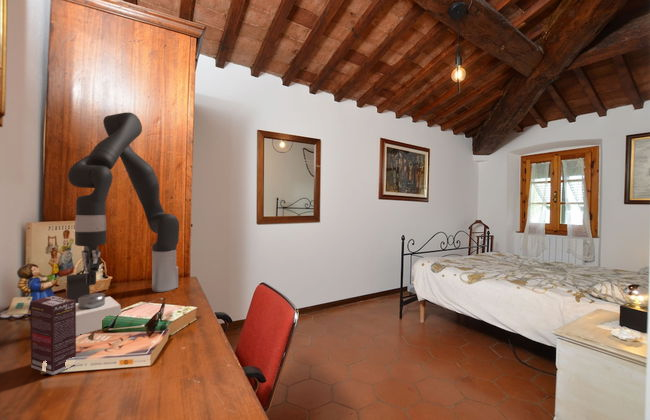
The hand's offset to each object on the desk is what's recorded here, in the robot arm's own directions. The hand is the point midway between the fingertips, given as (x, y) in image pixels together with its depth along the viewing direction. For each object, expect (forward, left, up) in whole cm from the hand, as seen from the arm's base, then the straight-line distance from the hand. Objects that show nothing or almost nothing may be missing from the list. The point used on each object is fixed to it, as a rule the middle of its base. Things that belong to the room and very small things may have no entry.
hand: (90, 284), depth 88 cm
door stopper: (0, -21, -13) cm, 25 cm away
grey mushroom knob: (0, 0, -12) cm, 12 cm away
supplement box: (+11, +21, -13) cm, 27 cm away
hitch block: (0, 0, -13) cm, 13 cm away
